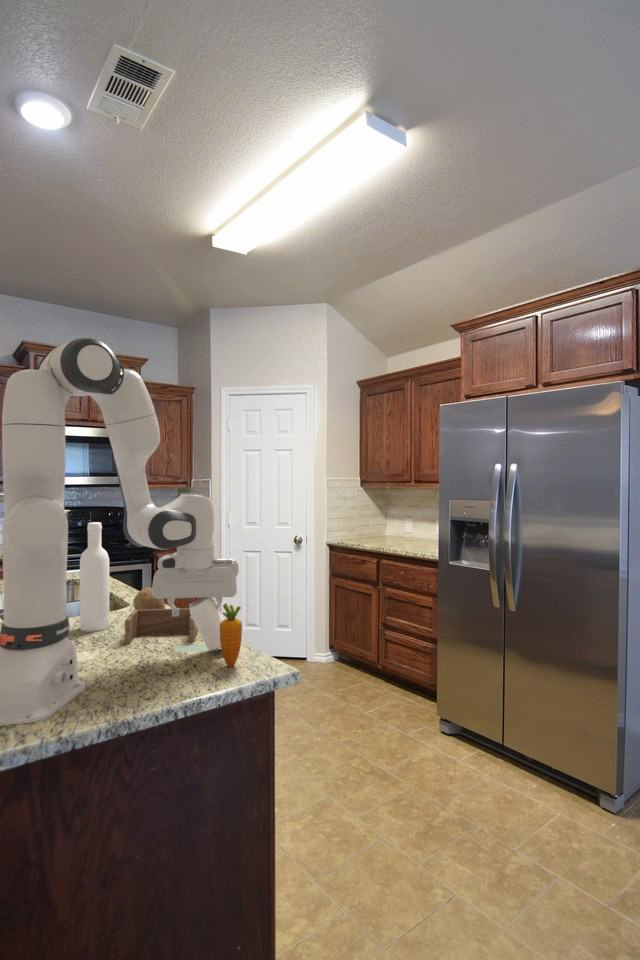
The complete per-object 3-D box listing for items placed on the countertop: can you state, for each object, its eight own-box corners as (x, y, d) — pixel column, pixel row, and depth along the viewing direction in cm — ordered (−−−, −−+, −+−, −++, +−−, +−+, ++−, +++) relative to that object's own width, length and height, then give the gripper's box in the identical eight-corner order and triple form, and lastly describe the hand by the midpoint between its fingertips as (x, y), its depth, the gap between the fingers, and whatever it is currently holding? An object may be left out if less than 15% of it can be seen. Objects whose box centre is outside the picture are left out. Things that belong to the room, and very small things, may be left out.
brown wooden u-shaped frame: (194, 642, 139) (194, 618, 139) (125, 645, 137) (125, 620, 137) (198, 631, 149) (198, 608, 149) (134, 633, 147) (134, 609, 147)
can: (219, 650, 127) (196, 605, 126) (203, 652, 131) (182, 609, 131) (237, 635, 132) (216, 592, 131) (222, 638, 136) (201, 596, 136)
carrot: (246, 668, 122) (246, 602, 122) (231, 674, 118) (231, 607, 117) (230, 663, 125) (230, 599, 124) (215, 670, 121) (215, 604, 120)
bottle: (111, 623, 157) (111, 521, 156) (107, 630, 149) (107, 523, 149) (82, 624, 155) (82, 521, 154) (76, 632, 147) (76, 524, 147)
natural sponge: (133, 617, 163) (133, 585, 162) (164, 615, 165) (164, 583, 165) (133, 626, 154) (133, 591, 154) (165, 623, 157) (165, 589, 157)
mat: (216, 661, 126) (216, 659, 126) (169, 662, 125) (169, 661, 125) (219, 645, 137) (219, 644, 137) (176, 647, 136) (176, 645, 136)
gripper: (238, 556, 135) (238, 611, 135) (155, 557, 132) (155, 612, 133) (238, 560, 129) (237, 617, 129) (150, 561, 126) (150, 619, 126)
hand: (195, 615), depth 131 cm, fingers open, 8 cm apart
